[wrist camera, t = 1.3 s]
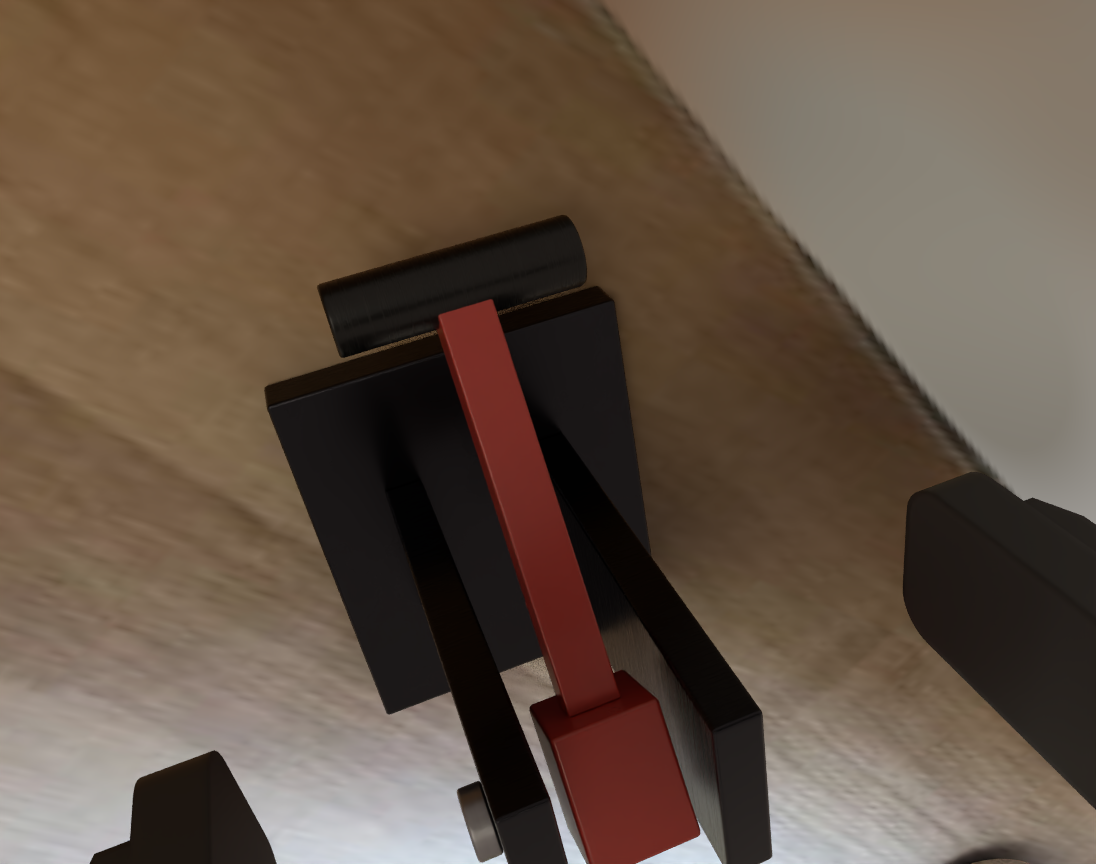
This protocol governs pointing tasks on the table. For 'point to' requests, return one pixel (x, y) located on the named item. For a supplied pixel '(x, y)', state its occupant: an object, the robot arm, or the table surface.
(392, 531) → the bracket
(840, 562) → the table surface
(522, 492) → the lever
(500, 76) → the table surface
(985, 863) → the planter
